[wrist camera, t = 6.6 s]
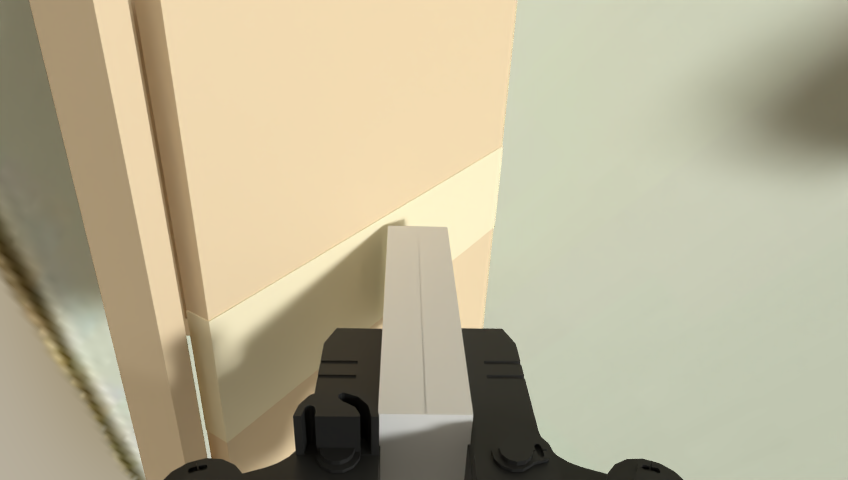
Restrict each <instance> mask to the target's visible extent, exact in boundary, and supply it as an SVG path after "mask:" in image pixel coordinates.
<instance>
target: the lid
mask: <svg viewBox="0 0 848 480" xmlns="http://www.w3.org/2000/svg"><path fill="white" fill-rule="evenodd" d="M29 3H30V7H31V11H32V15H33V19H34V23H35V27H36V31H37V35H38V39H39V43H40V48H41V52H42V56H43V60H44V64H45V68H46V72H47V76H48V80H49V84H50V88H51V93H52V97H53V101H54V105H55V109H56V113H57V117H58V121H59V125H60V129H61V133H62V138H63V142H64V146H65V150H66V154H67V158H68V162H69V166H70V170H71V174H72V178H73V182H74V187H75V191H76V195H77V199H78V203H79V207H80V211H81V215H82V219H83V223H84V227H85V232H86V236H87V240H88V244H89V248H90V252H91V256H92V260H93V264H94V268H95V272H96V277H97V281H98V285H99V289H100V293H101V297H102V301H103V305H104V309H105V313H106V317H107V321H108V326H109V330H110V334H111V338H112V342H113V346H114V350H115V354H116V358H117V362H118V366H119V371H120V375H121V379H122V383H123V387H124V391H125V395H126V399H127V403H128V407H129V411H130V416H131V420H132V424H133V428H134V432H135V436H136V440H137V444H138V448H139V452H140V456H141V461H142V465H143V469H144V473H145V477H146V480H164V479H165V478H166V477H167V476H168V475H169V474H170V473H171V472H172V471H174V470H175V469H177V468H179V467H181V466H183V465H184V464H186V463H189V462H192V461H196V460H200V459H204V458H207V453H206V448H205V442H204V436H203V430H202V425H201V419H200V413H199V407H198V402H197V396H196V390H195V384H194V379H193V373H192V367H191V361H190V355H189V350H188V344H187V338H186V332H185V327H184V321H183V315H182V309H181V304H180V298H179V292H178V286H177V281H176V275H175V269H174V263H173V258H172V252H171V246H170V240H169V235H168V229H167V223H166V217H165V212H164V206H163V200H162V194H161V189H160V183H159V177H158V171H157V166H156V160H155V154H154V148H153V143H152V137H151V131H150V125H149V120H148V114H147V108H146V102H145V97H144V91H143V85H142V79H141V74H140V68H139V62H138V56H137V51H136V45H135V39H134V33H133V28H132V22H131V16H130V10H129V5H128V0H29ZM134 3H135V8H136V14H137V20H138V26H139V32H140V38H141V44H142V50H143V56H144V62H145V67H146V73H147V79H148V85H149V91H150V97H151V103H152V109H153V115H154V121H155V127H156V132H157V138H158V144H159V150H160V156H161V162H162V168H163V174H164V180H165V186H166V192H167V197H168V203H169V209H170V215H171V221H172V227H173V233H174V239H175V245H176V251H177V257H178V262H179V268H180V274H181V280H182V286H183V292H184V298H185V304H186V314H187V319H188V325H189V331H190V337H191V343H192V349H193V355H194V361H195V367H196V372H197V378H198V384H199V390H200V396H201V402H202V408H203V414H204V420H205V425H206V430H207V434H208V440H209V446H210V452H211V457H212V459H223V460H225V461H228V462H230V463H232V464H235V465H236V466H237V468H238V469H239V470H240V471H241V472H242V473H246V472H250V471H254V470H257V469H261V468H265V467H268V466H271V465H273V464H276V463H279V462H280V461H282V460H284V459H286V458H287V457H289V456H290V455H291V454H292V453H293V452H295V451H296V449H295V437H294V425H293V415H294V413H295V411H296V409H297V407H298V405H299V404H300V403H301V402H302V401H303V400H305V399H306V398H307V397H308V396H309V395H311V394H314V393H315V387H316V382H317V378H318V372H319V366H320V363H321V356H322V350H323V345H324V342H325V341H326V340H327V339H328V338H329V336H330V335H331V334H332V333H333V332H334V331H335V329H336V328H370V329H382V328H383V310H384V291H385V272H386V254H387V235H388V226H428V227H447V228H448V235H449V243H450V250H451V257H452V264H453V271H454V279H455V286H456V293H457V300H458V308H459V315H460V322H461V328H479V329H483V323H484V313H485V304H486V294H487V285H488V275H489V266H490V256H491V247H492V237H493V228H494V227H495V218H496V209H497V200H498V190H499V181H500V171H501V162H502V152H503V146H502V142H503V133H504V123H505V114H506V104H507V95H508V85H509V76H510V66H511V57H512V47H513V38H514V28H515V19H516V9H517V0H134Z"/></svg>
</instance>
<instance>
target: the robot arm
mask: <svg viewBox="0 0 848 480" xmlns="http://www.w3.org/2000/svg"><path fill="white" fill-rule="evenodd" d="M293 425H294V437H295V449H296V451H295V452H293V453H292V454H291V455H290V456H289V457H287V458H286V459H284V460H282V461H280V462H279V463H276V464H273V465H271V466H268V467H265V468H261V469H257V470H254V471H250V472H246V473H242V472H241V471H240V470H239V469H238V468H237V466H236V465H235V464H232V463H230V462H228V461H225V460H223V459H209V458H204V459H200V460H196V461H192V462H189V463H186V464H184V465H183V466H181V467H179V468H177V469H175V470H174V471H172V472H171V473H170V474H169V475H168V476H167V477H166V478H165V479H164V480H683V479H682V478H681V477H680V476H679V475H678V474H677V473H676V472H674V471H672V470H671V469H669V468H667V467H665V466H663V465H662V464H660V463H657V462H653V461H649V460H645V459H626V460H624V461H622V462H619V463H617V464H615V465H614V466H613V468H612V469H611V470H610V471H609V473H608V474H605V473H601V472H597V471H594V470H590V469H586V468H583V467H580V466H577V465H574V464H571V463H569V462H567V461H565V460H564V459H562V458H560V457H558V456H557V455H556V454H555V453H554V452H553V451H552V449H551V447H550V445H549V444H548V443H547V442H546V441H545V440H544V439H543V438H542V437H541V436H540V434H539V431H538V428H537V424H536V420H535V416H534V412H533V409H532V405H531V401H530V397H529V393H528V389H527V386H526V382H525V379H524V374H523V370H522V366H521V365H520V359H519V355H518V351H517V347H516V344H515V343H514V342H513V340H512V339H511V338H510V337H509V336H508V335H507V334H506V333H505V331H504V330H503V329H479V328H461V322H460V315H459V308H458V300H457V293H456V286H455V279H454V271H453V264H452V257H451V250H450V243H449V235H448V228H447V227H428V226H388V235H387V254H386V272H385V291H384V310H383V328H382V329H370V328H336V329H335V331H334V332H333V333H332V334H331V335H330V336H329V338H328V339H327V340H326V341H325V342H324V345H323V350H322V356H321V363H320V366H319V372H318V378H317V382H316V387H315V393H314V394H311V395H309V396H308V397H307V398H306V399H305V400H303V401H302V402H301V403H300V404H299V405H298V407H297V409H296V411H295V413H294V415H293Z"/></svg>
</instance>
